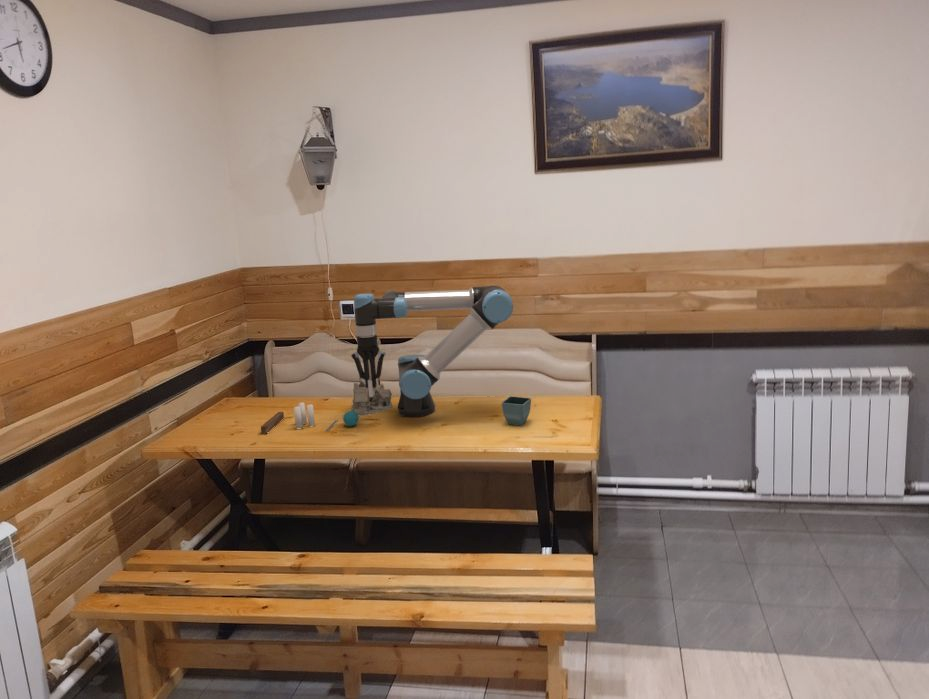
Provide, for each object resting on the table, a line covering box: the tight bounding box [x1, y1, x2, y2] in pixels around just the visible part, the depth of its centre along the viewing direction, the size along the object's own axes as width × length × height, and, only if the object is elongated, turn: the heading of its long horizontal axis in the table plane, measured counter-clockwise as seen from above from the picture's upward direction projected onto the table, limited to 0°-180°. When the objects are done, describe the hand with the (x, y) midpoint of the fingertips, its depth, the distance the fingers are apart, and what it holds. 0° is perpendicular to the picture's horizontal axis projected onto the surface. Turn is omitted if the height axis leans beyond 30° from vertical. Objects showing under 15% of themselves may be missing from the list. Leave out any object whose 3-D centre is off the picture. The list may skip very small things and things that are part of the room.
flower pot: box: [501, 395, 532, 426], centre depth 290 cm, size 9×9×9 cm
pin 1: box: [293, 405, 303, 429], centre depth 300 cm, size 2×2×8 cm
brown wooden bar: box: [260, 411, 285, 435], centre depth 305 cm, size 2×18×3 cm, turn 171°
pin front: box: [306, 404, 316, 427], centre depth 302 cm, size 2×2×8 cm
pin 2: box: [297, 402, 308, 425], centre depth 305 cm, size 2×2×8 cm
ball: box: [342, 410, 360, 427], centre depth 299 cm, size 6×6×6 cm
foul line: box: [325, 419, 339, 432], centre depth 301 cm, size 1×12×1 cm, turn 171°
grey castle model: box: [350, 375, 394, 416], centre depth 318 cm, size 16×16×15 cm
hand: (372, 395), depth 296 cm, fingers closed
